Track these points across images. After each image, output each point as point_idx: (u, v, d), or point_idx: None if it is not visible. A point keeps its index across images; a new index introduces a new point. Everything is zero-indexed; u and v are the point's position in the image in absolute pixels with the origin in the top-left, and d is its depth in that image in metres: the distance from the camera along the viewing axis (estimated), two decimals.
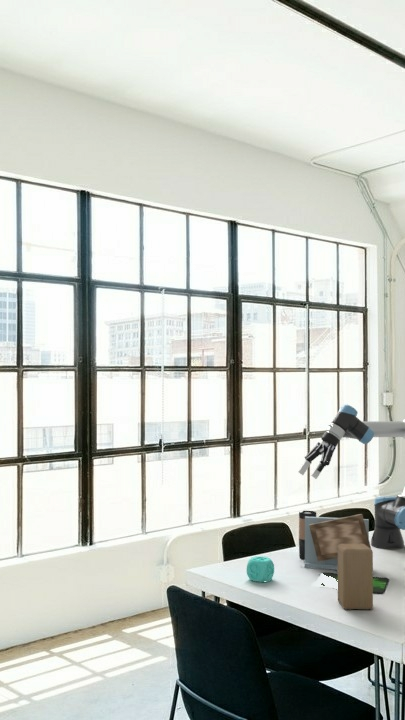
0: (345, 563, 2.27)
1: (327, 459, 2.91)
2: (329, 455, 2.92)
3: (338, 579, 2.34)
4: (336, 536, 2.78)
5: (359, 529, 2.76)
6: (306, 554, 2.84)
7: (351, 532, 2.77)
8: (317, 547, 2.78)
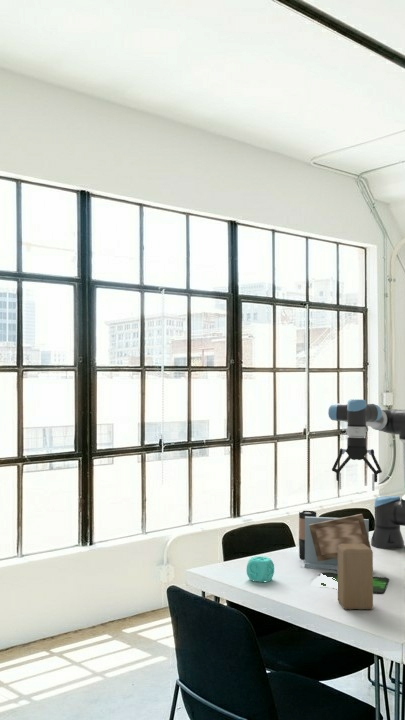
0: (345, 563, 2.27)
1: None
2: None
3: (338, 579, 2.34)
4: (336, 536, 2.78)
5: (359, 529, 2.76)
6: (306, 554, 2.84)
7: (351, 532, 2.77)
8: (317, 547, 2.78)
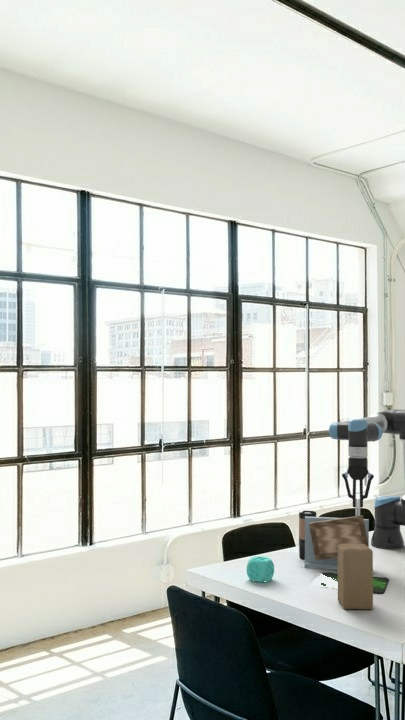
0: (345, 563, 2.27)
1: None
2: (369, 487, 2.76)
3: (338, 579, 2.34)
4: (335, 536, 2.78)
5: (359, 530, 2.76)
6: (306, 554, 2.84)
7: (351, 533, 2.77)
8: (316, 546, 2.78)
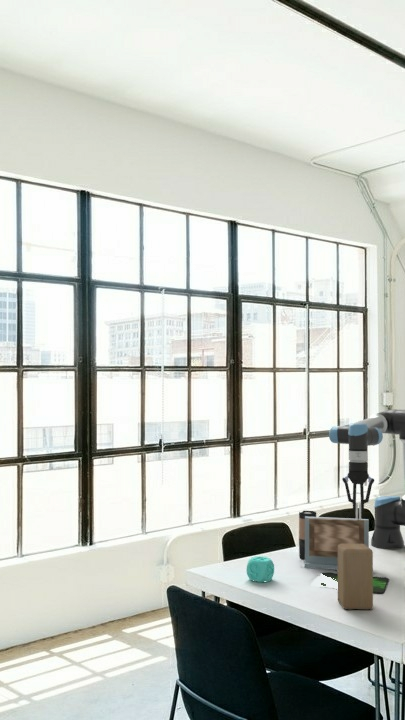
0: (345, 563, 2.27)
1: None
2: (370, 491, 2.76)
3: (338, 579, 2.34)
4: (333, 535, 2.78)
5: (357, 534, 2.76)
6: (306, 554, 2.84)
7: (349, 536, 2.77)
8: (312, 542, 2.79)
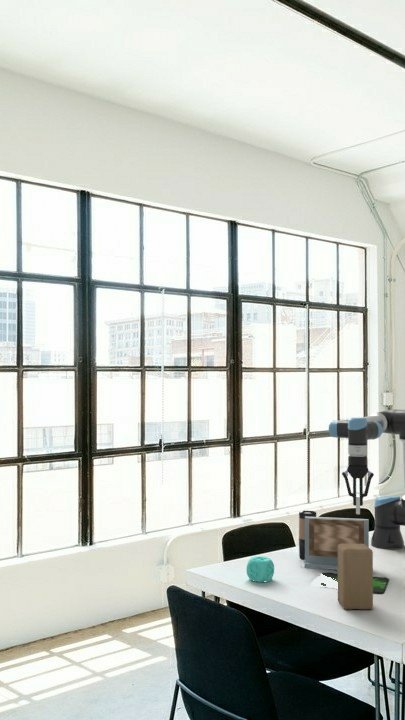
0: (345, 563, 2.27)
1: (367, 491, 2.76)
2: None
3: (338, 579, 2.34)
4: (333, 535, 2.78)
5: (357, 534, 2.76)
6: (306, 554, 2.84)
7: (348, 536, 2.77)
8: (311, 541, 2.79)
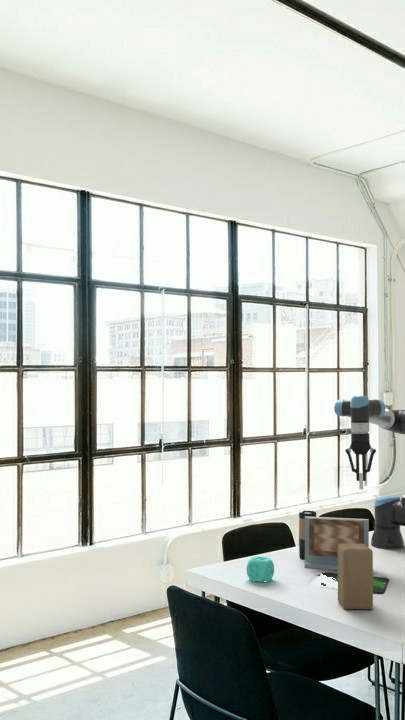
0: (345, 563, 2.27)
1: (370, 467, 2.85)
2: (371, 461, 2.85)
3: (338, 579, 2.34)
4: (333, 535, 2.78)
5: (357, 534, 2.76)
6: (306, 554, 2.84)
7: (348, 536, 2.77)
8: (311, 541, 2.79)
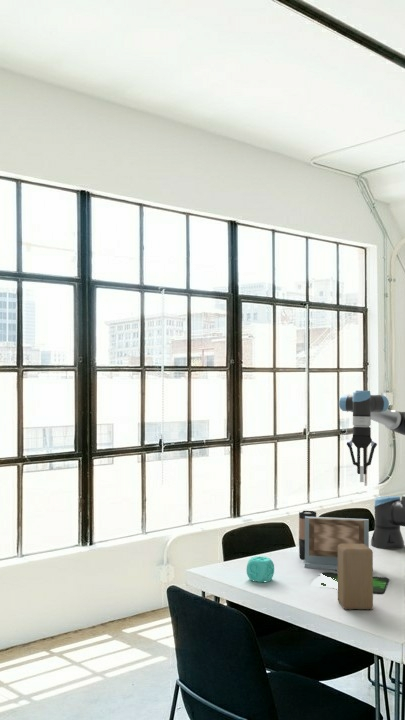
0: (345, 563, 2.27)
1: (371, 460, 2.90)
2: (372, 455, 2.90)
3: (338, 579, 2.34)
4: (333, 535, 2.78)
5: (357, 534, 2.76)
6: (306, 554, 2.84)
7: (348, 536, 2.77)
8: (311, 541, 2.79)
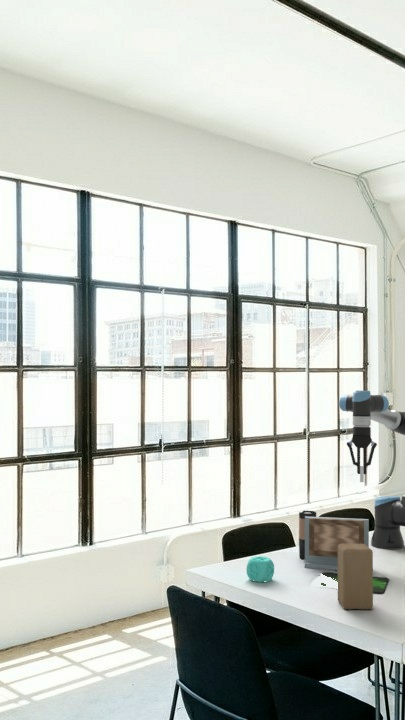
0: (345, 563, 2.27)
1: (371, 460, 2.90)
2: (372, 455, 2.90)
3: (338, 579, 2.34)
4: (333, 535, 2.78)
5: (357, 534, 2.76)
6: (306, 554, 2.84)
7: (348, 536, 2.77)
8: (311, 541, 2.79)
